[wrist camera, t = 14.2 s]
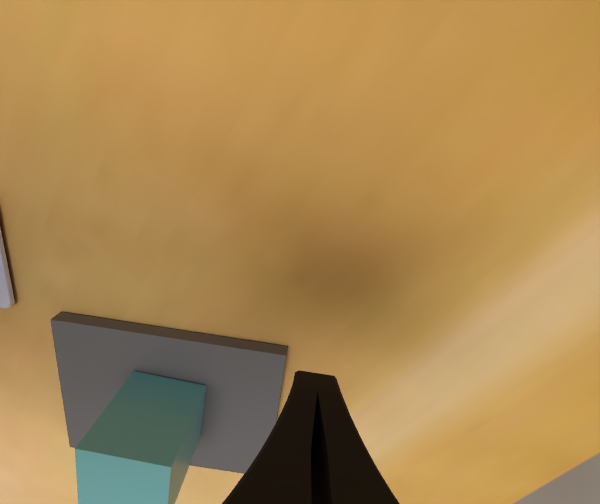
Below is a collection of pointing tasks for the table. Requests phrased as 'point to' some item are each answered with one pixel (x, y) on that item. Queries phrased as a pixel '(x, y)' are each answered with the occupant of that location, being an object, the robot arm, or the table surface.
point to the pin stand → (176, 365)
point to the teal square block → (141, 442)
